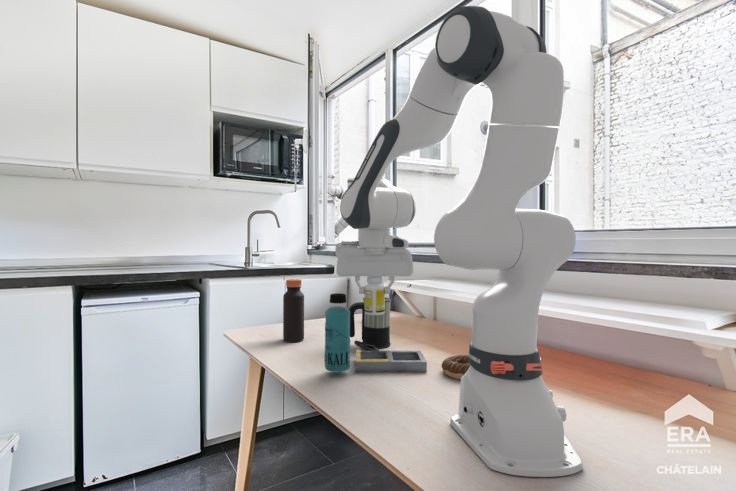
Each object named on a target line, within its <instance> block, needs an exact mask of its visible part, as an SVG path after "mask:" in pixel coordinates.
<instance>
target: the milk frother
mask: <svg viewBox="0 0 736 491" xmlns="http://www.w3.org/2000/svg"><path fill="white" fill-rule="evenodd" d="M362 300H363V301H362V302H354V303H352V304H351V305H350V306H349V308H348V310H349V311H350V338H354V337H355V334H356V327H355V325H356V324H355V313H356V311H357V310H361V313H362V314H361V340H362V341H361V340H354V342H353V343H354V345H355V346H357V347H358V348H360V349H361V350H363V351H380V349H384V348H388V347H390V346H391V341H390V340H391V339H390V338H391V335H390V334H391V333H390V331H391V330H390V329H391V328H390V324H391V323H390V322H391V321H390V320H391V302H392V300H393V299H392V298H390V297H386V296H385V313H384V314H382V315H367V314H365V310H364V297H363V298H362Z"/></svg>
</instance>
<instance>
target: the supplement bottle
mask: <svg viewBox="0 0 736 491" xmlns="http://www.w3.org/2000/svg"><path fill="white" fill-rule="evenodd" d="M366 282H367V284H365V285H364V286H365V290H364V291H365V294H364V297H363V298H364V300H363V302H364V310H365V314H367V315H382V314H384V313H385V297H386V295H385V287H384V286H385V285H383V284H382V283H383V276H366Z"/></svg>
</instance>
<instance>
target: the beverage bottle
mask: <svg viewBox="0 0 736 491" xmlns="http://www.w3.org/2000/svg"><path fill="white" fill-rule="evenodd" d="M329 303H330V304H346V303H347V295H346V294H345V293H338V292H337V293H331V294H330V295H329ZM324 313H325V323H324V325H325V326H324V352H323V353H324V355H323V356H324V364H323V365H324V368H325V370H326V371H328V372H330V373H331V372H333V373H339V372H340V373H342V372H346V371H348V370H349V369H350V366H351V337H350V311H349V308H348V307H346V306H340V305H337V306H336V305H335V306H334V305H333V306H329V308H327V309H326V310H325V312H324Z"/></svg>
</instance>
